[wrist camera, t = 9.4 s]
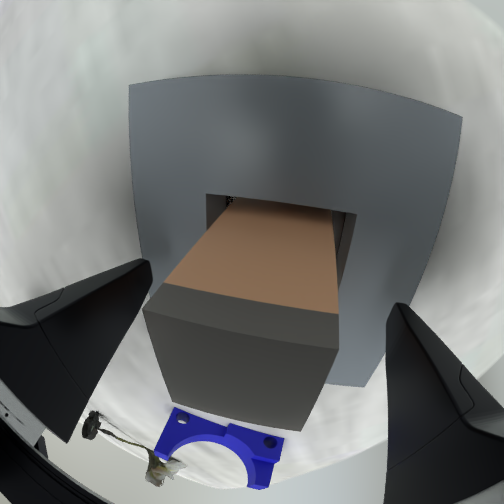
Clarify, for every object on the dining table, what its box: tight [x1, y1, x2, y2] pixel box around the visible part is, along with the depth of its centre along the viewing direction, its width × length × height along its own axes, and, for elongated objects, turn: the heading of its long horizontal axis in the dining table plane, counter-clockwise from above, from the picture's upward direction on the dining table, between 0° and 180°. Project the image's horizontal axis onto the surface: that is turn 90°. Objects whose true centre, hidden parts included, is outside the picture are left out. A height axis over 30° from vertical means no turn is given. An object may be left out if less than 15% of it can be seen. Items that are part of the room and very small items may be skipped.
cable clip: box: [154, 407, 284, 490], centre depth 23 cm, size 12×4×6 cm, turn 74°
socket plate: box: [129, 75, 462, 387], centre depth 12 cm, size 14×12×2 cm
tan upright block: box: [142, 197, 339, 432], centre depth 9 cm, size 4×4×8 cm
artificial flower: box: [82, 411, 187, 487], centre depth 38 cm, size 9×22×10 cm, turn 40°
